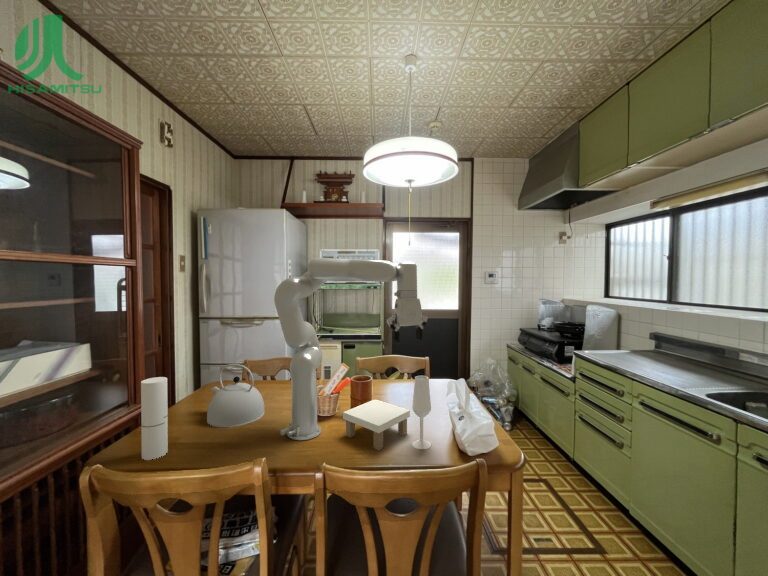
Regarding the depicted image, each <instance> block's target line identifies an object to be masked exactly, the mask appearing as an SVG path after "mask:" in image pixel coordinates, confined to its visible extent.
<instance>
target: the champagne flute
mask: <svg viewBox="0 0 768 576" xmlns="http://www.w3.org/2000/svg"><path fill="white" fill-rule="evenodd" d="M431 401H432V400H431V391H430V380H429V377H428V376H426V375H417V376H414V385H413V396H412V407H411V409H412V411H413V413H414V414H415V415H416V416H417V417H419V438H418V439H416V440H414V441H412V443H411V444H412V446H413V447H414V448H415V449H418V450H427V449H429V448H431V446H432V444H431V443H430V442H429V440H426V439H424V418H426V416H428V415H429V414H430V413H431V410H432V403H431Z"/></svg>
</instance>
